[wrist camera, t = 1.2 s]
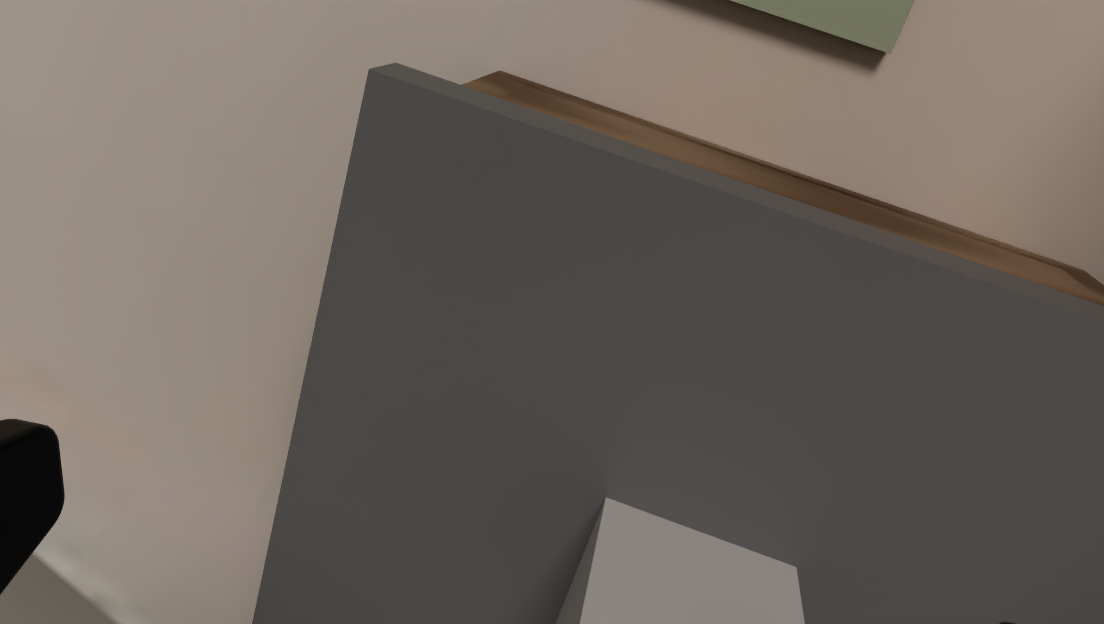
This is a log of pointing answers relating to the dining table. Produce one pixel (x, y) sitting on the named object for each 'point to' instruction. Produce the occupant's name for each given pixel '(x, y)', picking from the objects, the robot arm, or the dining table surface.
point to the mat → (844, 17)
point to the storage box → (792, 185)
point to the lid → (668, 400)
